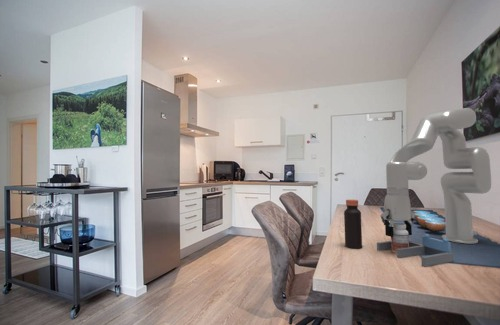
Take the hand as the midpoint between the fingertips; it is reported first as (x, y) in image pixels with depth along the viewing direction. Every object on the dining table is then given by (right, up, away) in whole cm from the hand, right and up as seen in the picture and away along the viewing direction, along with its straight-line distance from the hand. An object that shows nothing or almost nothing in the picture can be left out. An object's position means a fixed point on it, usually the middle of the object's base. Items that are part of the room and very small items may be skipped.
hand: (398, 235), depth 97 cm
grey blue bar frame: (+2, -6, -5) cm, 8 cm away
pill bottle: (+1, -7, 0) cm, 7 cm away
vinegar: (-15, -7, +8) cm, 18 cm away
